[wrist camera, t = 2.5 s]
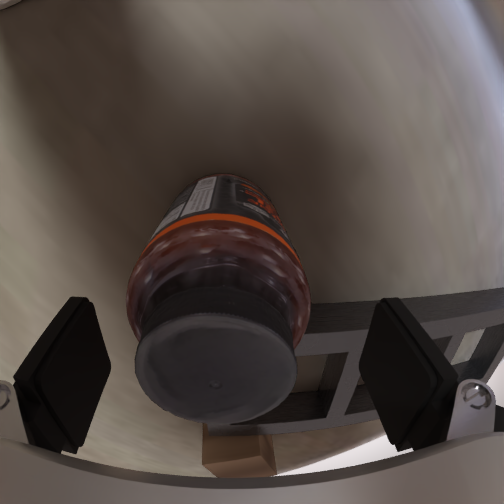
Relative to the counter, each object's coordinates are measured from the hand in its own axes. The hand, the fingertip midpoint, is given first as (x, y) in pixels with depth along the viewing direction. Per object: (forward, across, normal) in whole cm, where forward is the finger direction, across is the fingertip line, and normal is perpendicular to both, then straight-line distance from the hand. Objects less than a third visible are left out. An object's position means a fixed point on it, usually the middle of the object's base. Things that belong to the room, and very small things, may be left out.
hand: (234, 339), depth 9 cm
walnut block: (+9, 0, +19) cm, 21 cm away
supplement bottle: (+9, +1, -1) cm, 9 cm away
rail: (+9, -12, +10) cm, 18 cm away
